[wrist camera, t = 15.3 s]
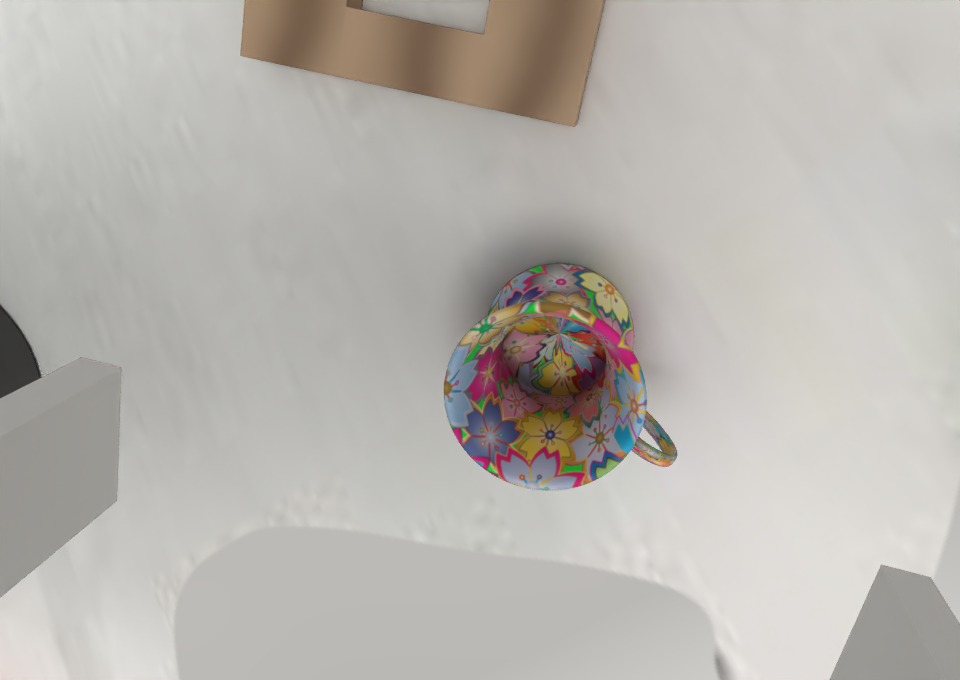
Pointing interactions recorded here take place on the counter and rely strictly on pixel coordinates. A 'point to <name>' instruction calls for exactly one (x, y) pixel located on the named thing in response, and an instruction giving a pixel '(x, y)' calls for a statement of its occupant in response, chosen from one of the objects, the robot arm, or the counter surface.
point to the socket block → (440, 51)
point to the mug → (552, 383)
